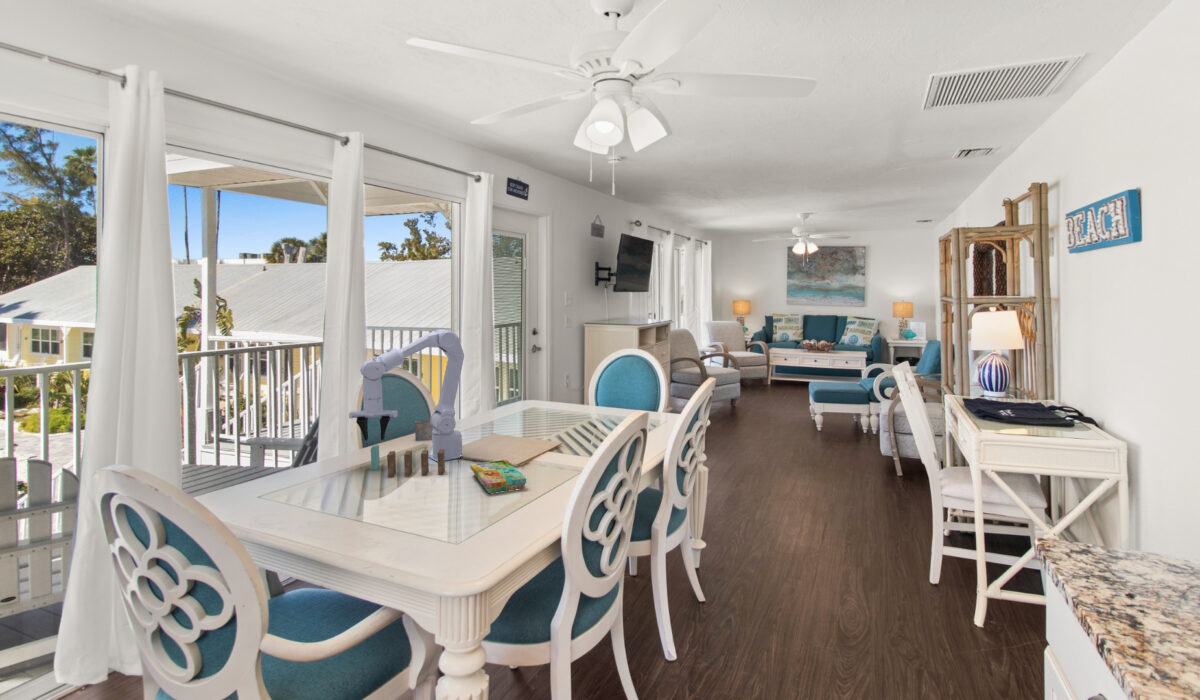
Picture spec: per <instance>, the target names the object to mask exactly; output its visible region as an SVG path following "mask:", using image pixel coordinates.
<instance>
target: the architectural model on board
mask: <svg viewBox="0 0 1200 700" xmlns="http://www.w3.org/2000/svg"><path fill="white" fill-rule="evenodd" d="M433 428H434V427H433V426H432V425H431V423H430V419H429V420H427V419H426V420H421V421H417V420H415V422H414V433H415V435H414V436H415V438H414V439H415V442H422V441H423V442H424V441H427V442H428V441H432V431H433Z"/></svg>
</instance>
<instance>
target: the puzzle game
mask: <svg viewBox="0 0 1200 700" xmlns="http://www.w3.org/2000/svg"><path fill="white" fill-rule="evenodd" d="M469 467H470V470H471V471H472V473H473V474H474V476H475V477H476V479H477V480H478V481H479V483H480V484H481V485H482V486H483V487H484V489H485V490H486V491H487V492H488V494H489V493H494V494H497V493H496V492H501V491H507V492H510V491H509V490H514V491H517V490H516V489H521V490H522V489H523V487H525V485H526V484H527V477H526V476H525V475H524V474H523V473H522V472H521V471H520V470H518V469H517V468H516V467H515V466H514V465H513V464H512V463H511V462H510V461H509V460H508V459H502V460H494V461H486V462H477V463H471V464H470V465H469ZM501 493H502V492H501Z"/></svg>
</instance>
